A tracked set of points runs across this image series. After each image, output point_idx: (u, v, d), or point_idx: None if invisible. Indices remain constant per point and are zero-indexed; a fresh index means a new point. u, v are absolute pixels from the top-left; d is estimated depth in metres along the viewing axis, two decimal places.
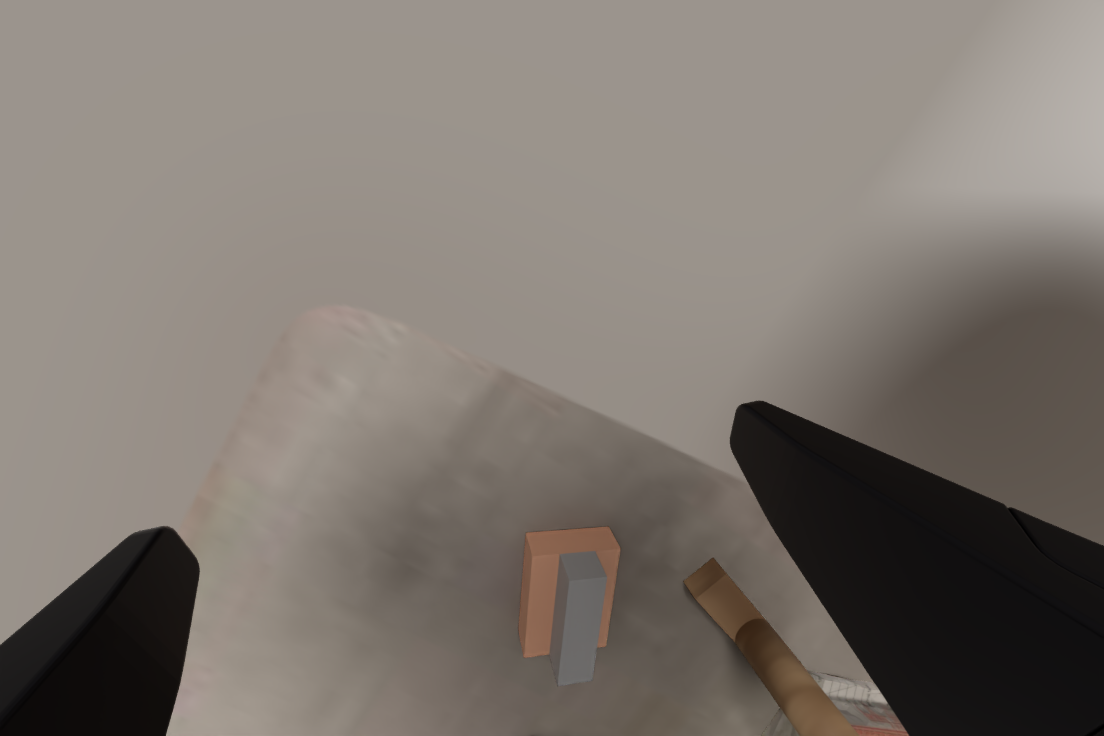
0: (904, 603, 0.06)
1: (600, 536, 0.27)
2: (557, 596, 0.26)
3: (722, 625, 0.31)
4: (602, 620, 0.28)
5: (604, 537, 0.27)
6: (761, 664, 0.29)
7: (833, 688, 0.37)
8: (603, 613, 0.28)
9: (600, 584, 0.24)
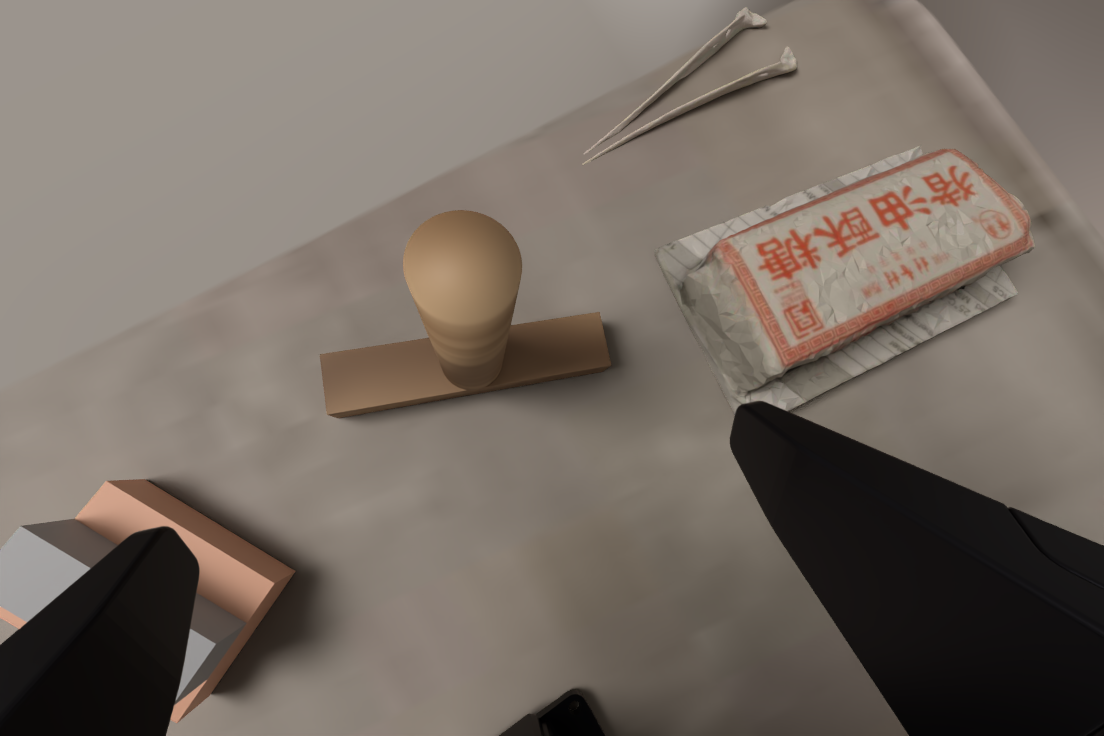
0: (904, 603, 0.06)
1: None
2: None
3: (415, 395, 0.20)
4: (216, 565, 0.17)
5: None
6: (442, 367, 0.18)
7: (708, 241, 0.24)
8: (203, 558, 0.17)
9: (25, 541, 0.15)
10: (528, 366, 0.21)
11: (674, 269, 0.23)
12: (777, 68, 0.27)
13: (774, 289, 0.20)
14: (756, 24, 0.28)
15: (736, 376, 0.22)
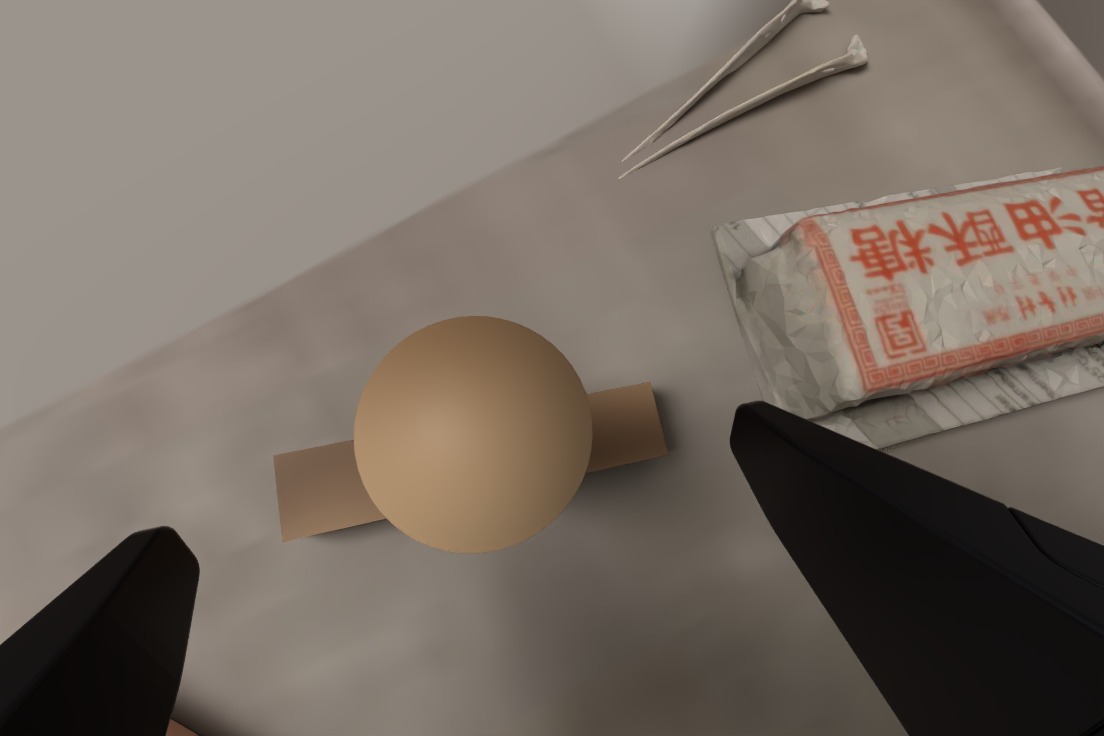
0: (904, 603, 0.06)
1: None
2: None
3: None
4: None
5: None
6: None
7: (781, 229, 0.19)
8: None
9: None
10: None
11: (733, 253, 0.19)
12: (846, 61, 0.21)
13: (867, 288, 0.15)
14: (817, 7, 0.22)
15: (792, 398, 0.17)
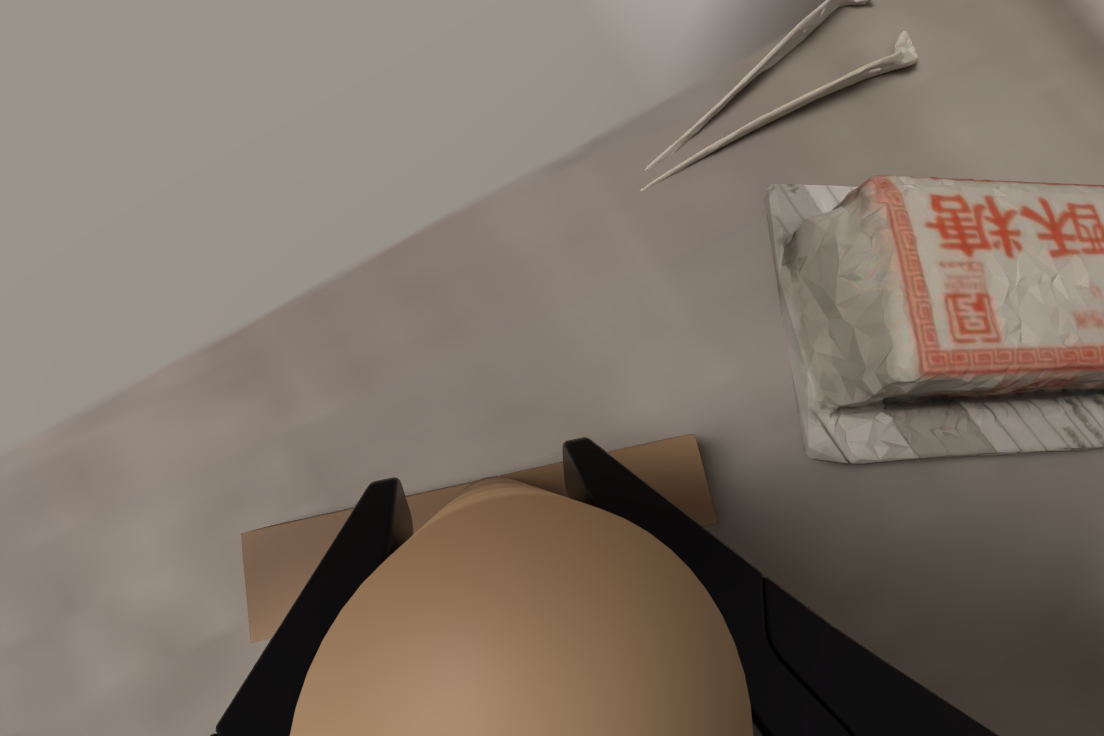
0: None
1: None
2: None
3: None
4: None
5: None
6: None
7: None
8: None
9: None
10: None
11: (786, 217, 0.17)
12: (894, 61, 0.19)
13: (940, 260, 0.13)
14: (859, 0, 0.20)
15: (828, 380, 0.15)
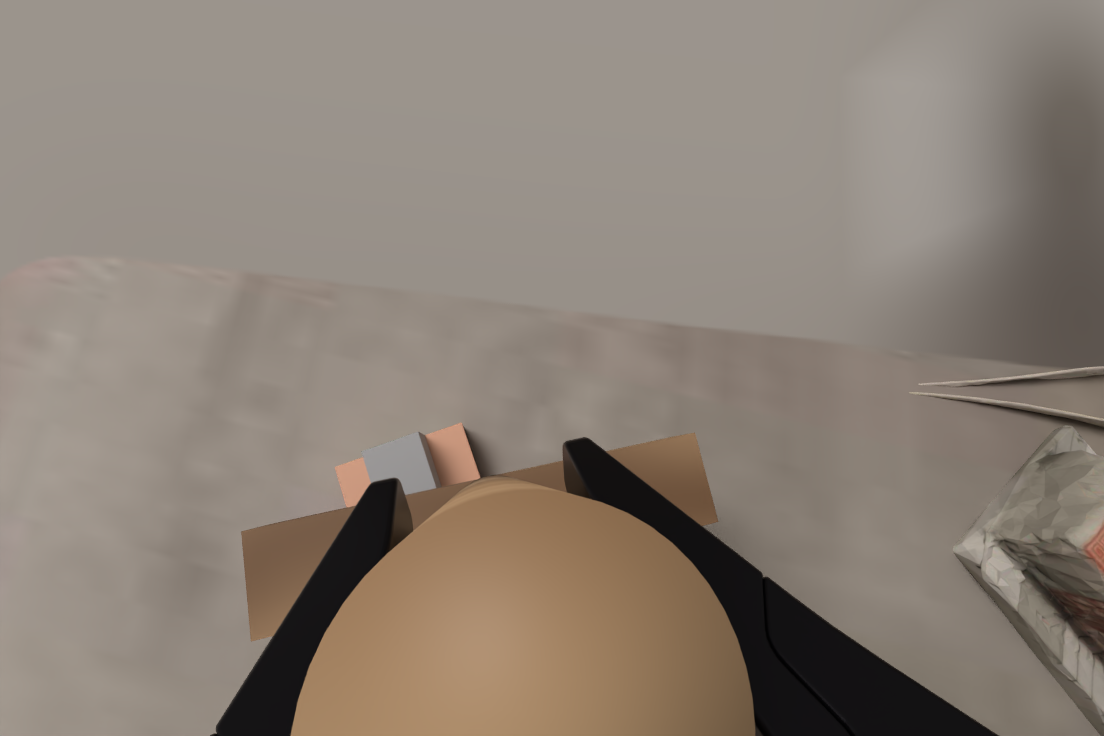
0: None
1: None
2: None
3: None
4: None
5: None
6: None
7: None
8: None
9: (413, 445, 0.17)
10: None
11: (1062, 445, 0.24)
12: None
13: None
14: None
15: (1011, 523, 0.22)
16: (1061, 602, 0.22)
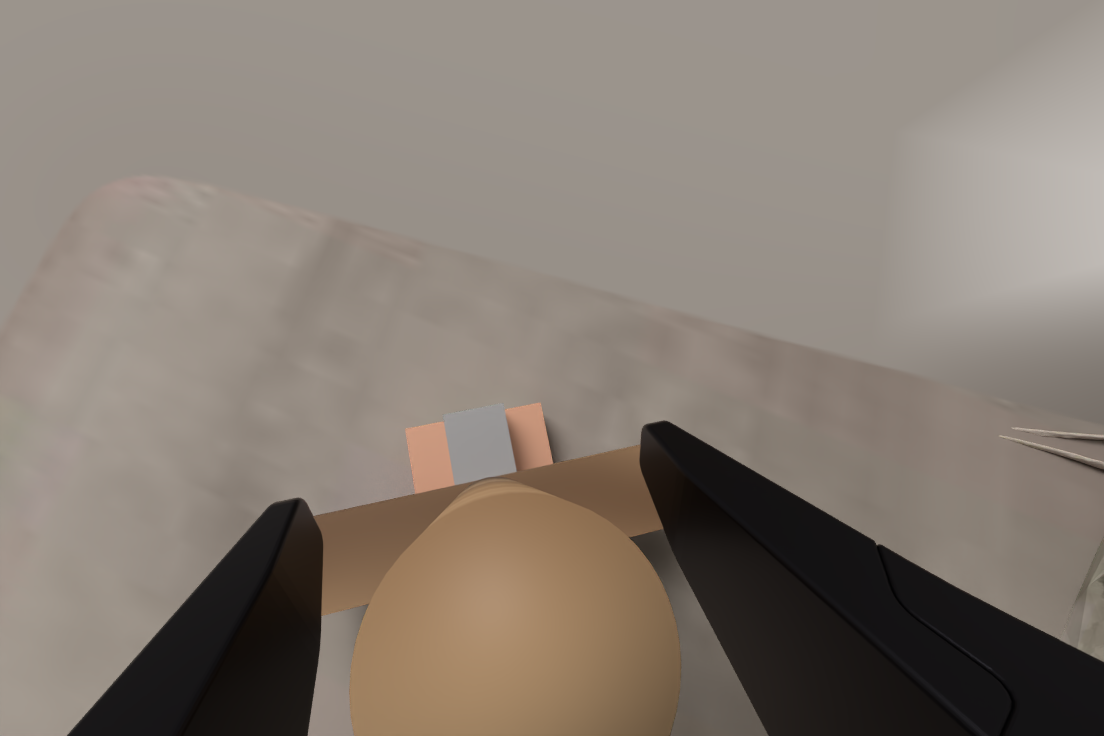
0: (776, 643, 0.05)
1: None
2: None
3: None
4: None
5: None
6: None
7: None
8: None
9: (497, 417, 0.16)
10: None
11: None
12: None
13: None
14: None
15: None
16: None
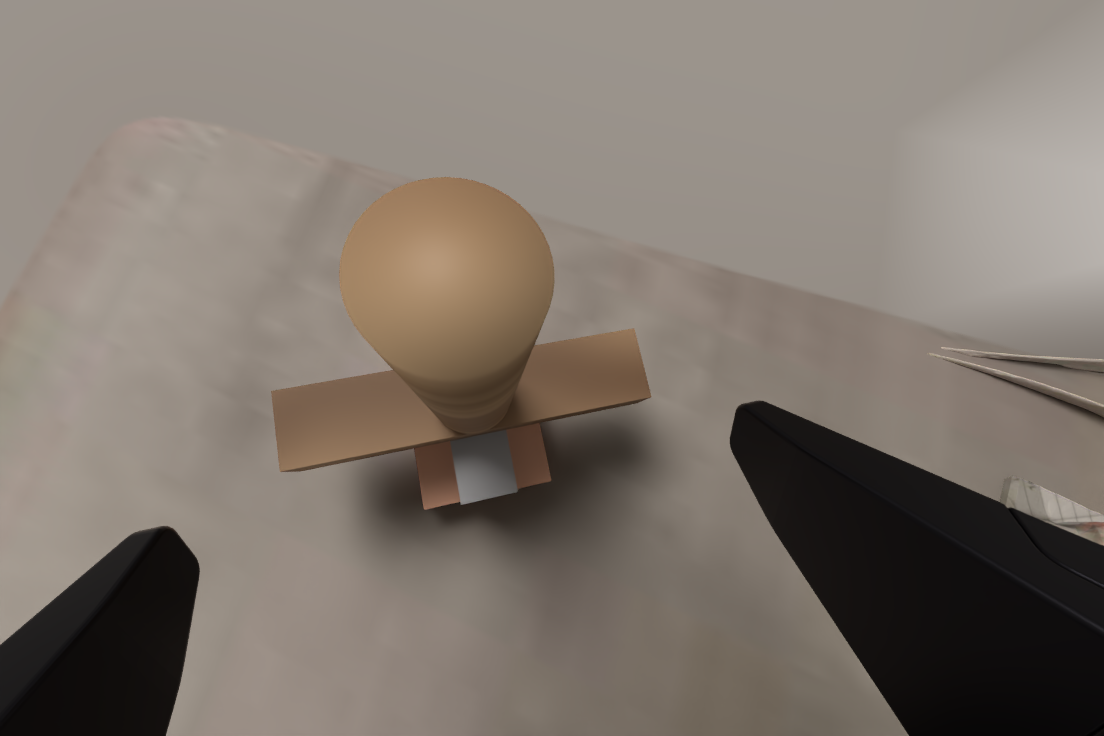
0: (904, 603, 0.06)
1: None
2: None
3: (397, 443, 0.15)
4: (529, 432, 0.19)
5: None
6: None
7: (1064, 510, 0.23)
8: None
9: None
10: (545, 401, 0.16)
11: (1020, 504, 0.23)
12: None
13: None
14: None
15: None
16: None
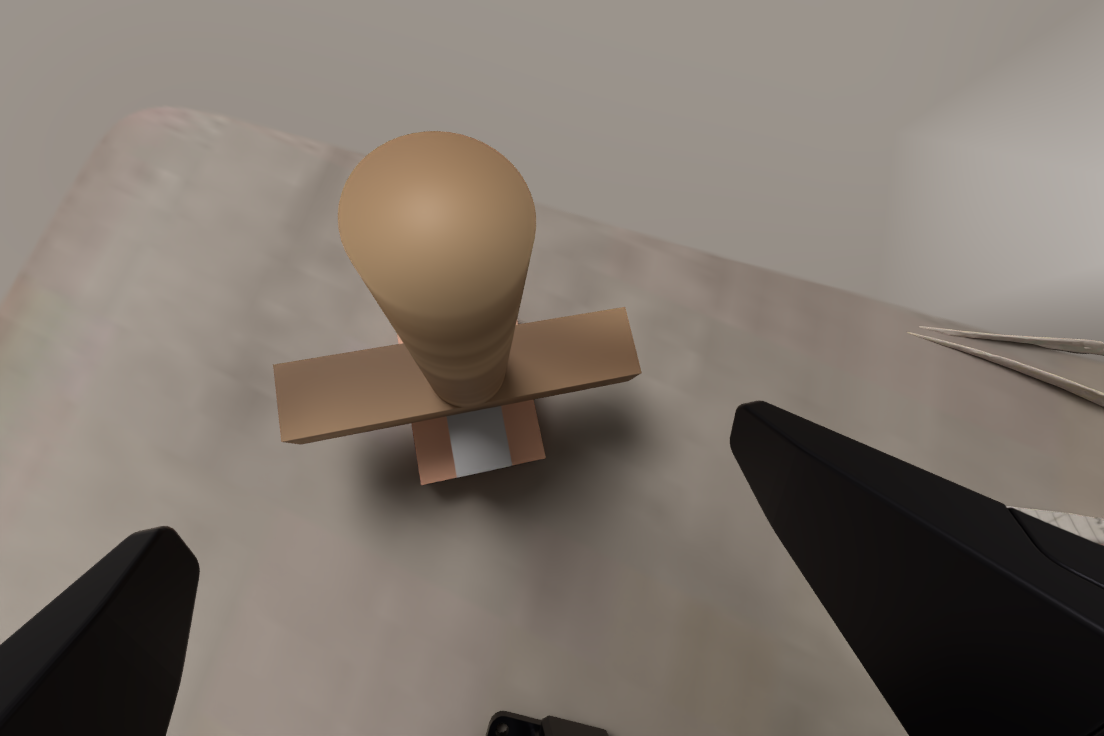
0: (904, 603, 0.06)
1: None
2: None
3: (395, 415, 0.15)
4: (524, 411, 0.20)
5: None
6: (427, 379, 0.13)
7: None
8: None
9: None
10: (538, 376, 0.16)
11: None
12: None
13: None
14: None
15: None
16: None
